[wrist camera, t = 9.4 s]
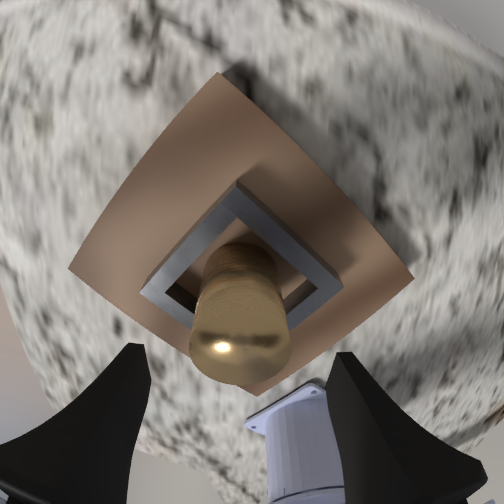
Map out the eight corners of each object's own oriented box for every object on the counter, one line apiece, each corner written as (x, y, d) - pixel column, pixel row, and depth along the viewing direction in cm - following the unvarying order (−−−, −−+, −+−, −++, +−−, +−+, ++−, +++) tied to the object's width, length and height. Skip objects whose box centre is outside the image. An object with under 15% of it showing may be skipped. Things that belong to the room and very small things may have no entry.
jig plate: (405, 267, 19) (414, 278, 18) (256, 382, 23) (256, 396, 22) (219, 74, 14) (217, 71, 13) (77, 257, 18) (67, 268, 17)
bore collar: (337, 272, 17) (344, 287, 16) (244, 348, 20) (244, 364, 18) (236, 178, 15) (235, 186, 14) (146, 278, 17) (139, 292, 16)
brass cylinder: (292, 273, 17) (312, 348, 12) (242, 316, 19) (243, 396, 13) (238, 226, 16) (235, 292, 11) (189, 277, 17) (169, 352, 12)
